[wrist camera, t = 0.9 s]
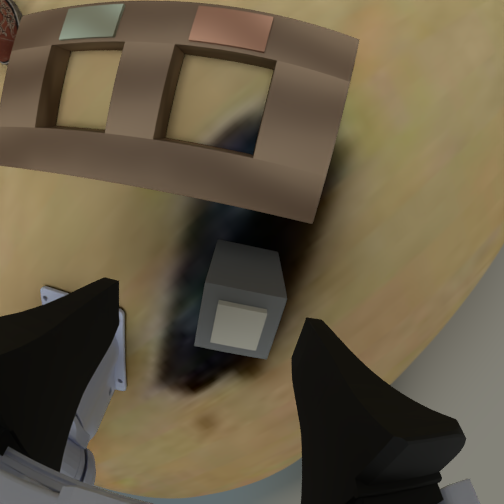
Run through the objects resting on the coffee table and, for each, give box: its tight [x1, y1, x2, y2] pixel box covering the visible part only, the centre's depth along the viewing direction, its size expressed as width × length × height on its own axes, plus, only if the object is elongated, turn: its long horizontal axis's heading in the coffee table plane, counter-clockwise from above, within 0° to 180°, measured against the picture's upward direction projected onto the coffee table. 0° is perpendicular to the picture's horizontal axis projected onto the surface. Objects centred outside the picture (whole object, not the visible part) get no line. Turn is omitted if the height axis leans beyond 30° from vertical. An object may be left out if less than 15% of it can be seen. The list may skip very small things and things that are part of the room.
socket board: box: [0, 1, 359, 224], centre depth 15 cm, size 11×22×3 cm, turn 77°
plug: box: [194, 239, 287, 359], centre depth 18 cm, size 4×4×6 cm
